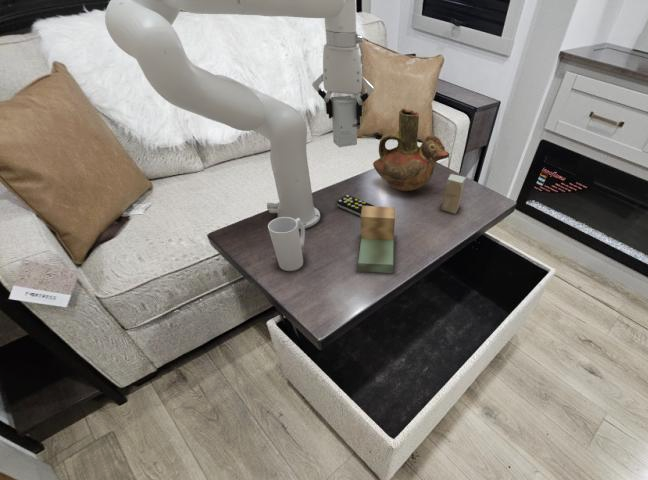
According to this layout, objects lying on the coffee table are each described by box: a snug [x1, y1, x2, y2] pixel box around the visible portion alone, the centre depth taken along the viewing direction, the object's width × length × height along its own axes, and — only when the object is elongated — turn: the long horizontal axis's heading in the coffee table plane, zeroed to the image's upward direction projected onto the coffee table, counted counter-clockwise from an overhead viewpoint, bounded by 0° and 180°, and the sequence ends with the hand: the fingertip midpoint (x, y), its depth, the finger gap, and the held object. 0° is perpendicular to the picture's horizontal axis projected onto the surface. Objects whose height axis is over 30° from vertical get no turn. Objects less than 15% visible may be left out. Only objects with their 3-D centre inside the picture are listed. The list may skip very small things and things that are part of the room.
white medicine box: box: [330, 95, 358, 148], centre depth 96 cm, size 6×4×12 cm
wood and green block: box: [357, 205, 396, 274], centre depth 90 cm, size 9×16×10 cm, turn 0°
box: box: [441, 173, 467, 215], centre depth 108 cm, size 5×4×11 cm
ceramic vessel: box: [372, 107, 451, 192], centre depth 112 cm, size 17×26×25 cm, turn 77°
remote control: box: [336, 194, 375, 217], centre depth 108 cm, size 6×13×2 cm, turn 57°
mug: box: [267, 217, 306, 272], centre depth 85 cm, size 10×7×12 cm, turn 151°
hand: (344, 117), depth 95 cm, fingers closed on white medicine box, 7 cm apart
